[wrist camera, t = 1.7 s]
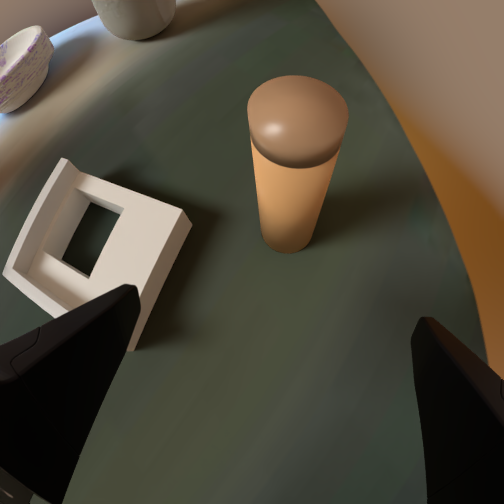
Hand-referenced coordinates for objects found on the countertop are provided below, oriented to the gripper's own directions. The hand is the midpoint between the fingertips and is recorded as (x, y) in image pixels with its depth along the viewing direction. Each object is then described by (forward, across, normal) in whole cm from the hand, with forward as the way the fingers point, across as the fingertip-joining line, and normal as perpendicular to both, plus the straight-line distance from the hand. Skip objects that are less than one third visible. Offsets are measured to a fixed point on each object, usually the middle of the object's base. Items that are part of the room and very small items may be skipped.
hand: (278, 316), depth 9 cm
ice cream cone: (+15, 0, +4) cm, 16 cm away
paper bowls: (+30, +41, -10) cm, 52 cm away
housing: (+12, +15, +7) cm, 20 cm away
